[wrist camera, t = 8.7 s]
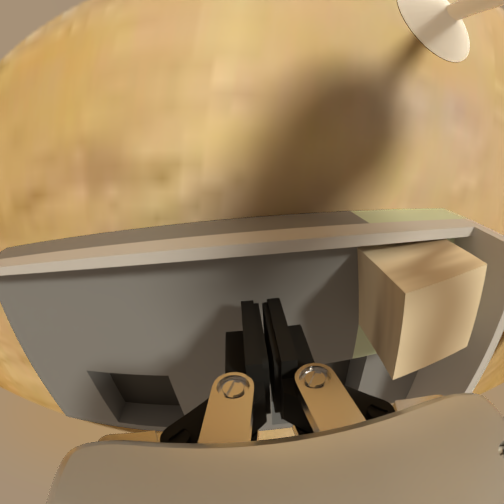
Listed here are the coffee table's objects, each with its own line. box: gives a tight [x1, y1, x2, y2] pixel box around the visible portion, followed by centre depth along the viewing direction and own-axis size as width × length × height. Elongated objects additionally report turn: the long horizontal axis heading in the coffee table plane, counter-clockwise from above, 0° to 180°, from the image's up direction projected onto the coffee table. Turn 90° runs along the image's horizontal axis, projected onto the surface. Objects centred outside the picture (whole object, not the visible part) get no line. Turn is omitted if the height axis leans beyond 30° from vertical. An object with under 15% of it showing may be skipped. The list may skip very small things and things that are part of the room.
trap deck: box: [0, 208, 504, 431], centre depth 13 cm, size 30×15×8 cm, turn 94°
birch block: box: [357, 239, 487, 380], centre depth 11 cm, size 4×4×4 cm
